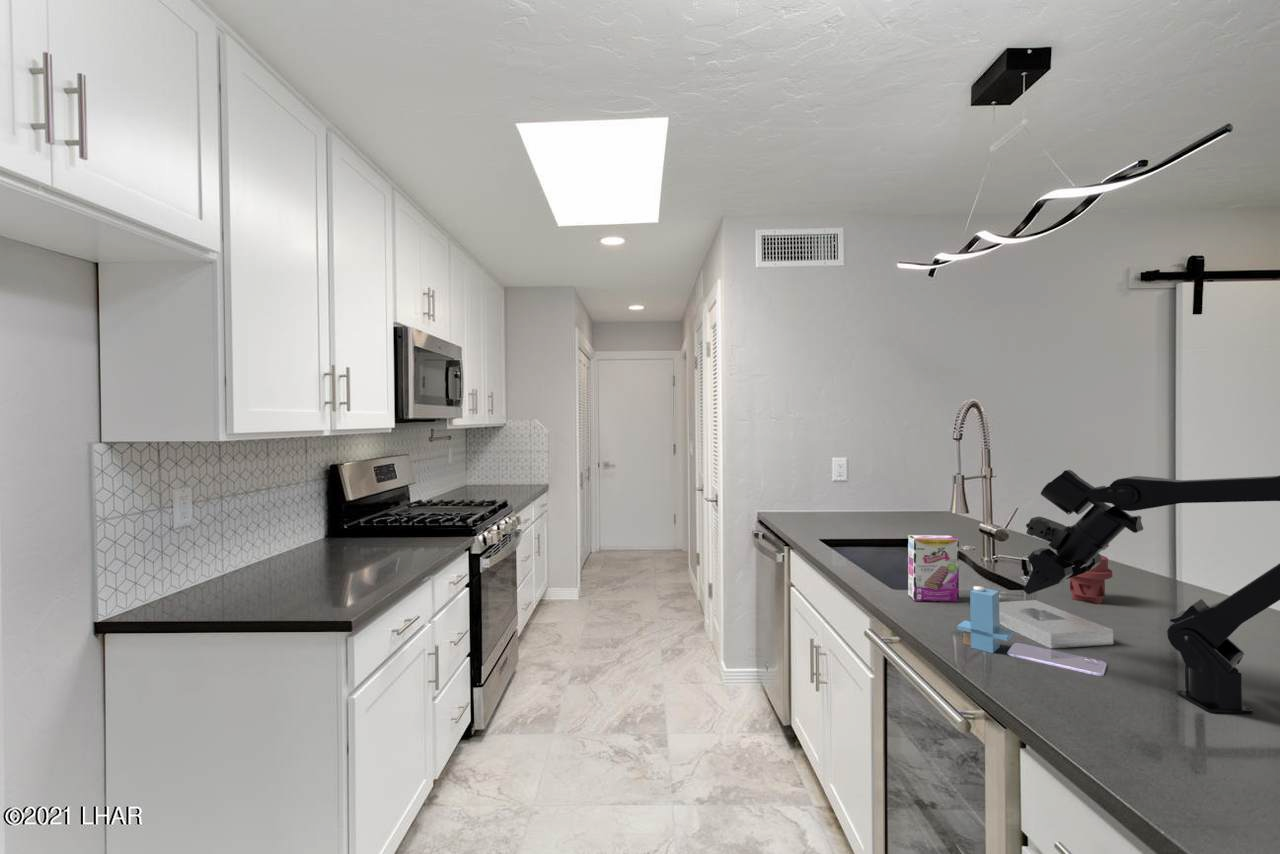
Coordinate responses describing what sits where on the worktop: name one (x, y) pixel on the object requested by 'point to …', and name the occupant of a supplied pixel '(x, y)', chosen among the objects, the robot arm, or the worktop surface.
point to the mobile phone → (1058, 659)
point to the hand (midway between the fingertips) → (1036, 588)
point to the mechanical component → (1091, 583)
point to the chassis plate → (1052, 625)
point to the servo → (984, 621)
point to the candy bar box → (933, 568)
